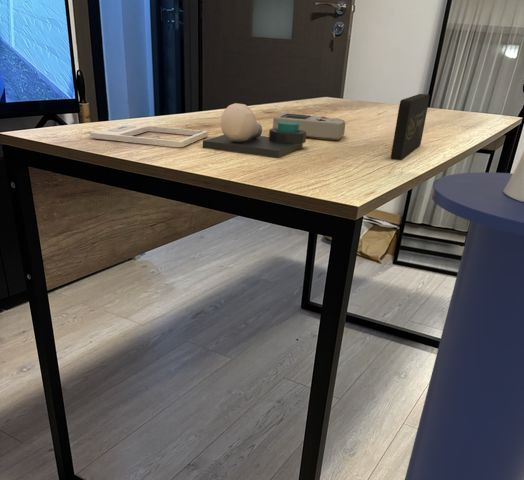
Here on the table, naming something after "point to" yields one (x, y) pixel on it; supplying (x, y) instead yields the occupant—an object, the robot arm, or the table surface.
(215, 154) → the table surface
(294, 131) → the button
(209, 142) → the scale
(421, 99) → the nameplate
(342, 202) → the table surface
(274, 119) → the handheld gaming device
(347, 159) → the table surface
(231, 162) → the table surface
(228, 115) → the light bulb
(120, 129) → the photo frame
